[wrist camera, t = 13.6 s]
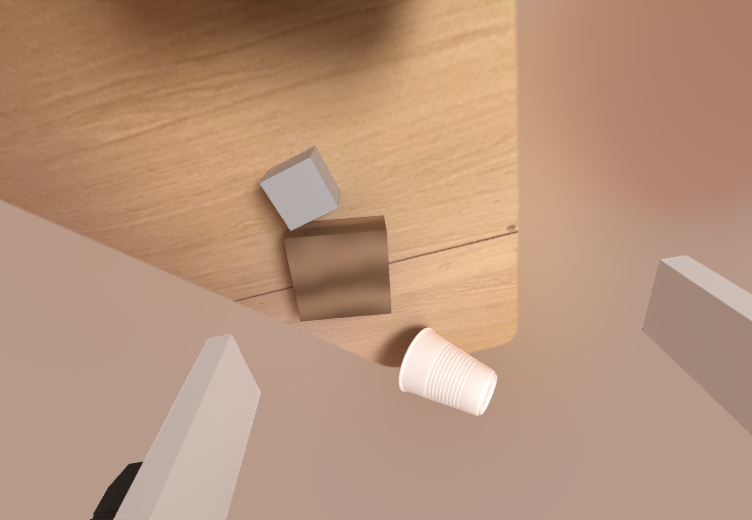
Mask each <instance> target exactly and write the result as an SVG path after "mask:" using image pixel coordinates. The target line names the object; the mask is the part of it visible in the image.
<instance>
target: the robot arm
mask: <svg viewBox="0 0 752 520" xmlns="http://www.w3.org/2000/svg"><path fill="white" fill-rule="evenodd" d="M642 330H643V331H644V332H645V333H646V334H647V335H648V336H649V337H650V338H651V339H652V340H653V341H654V342H655V343H656V344H657V345H658V346H659V347H660V348H661V349H662V350H663V351H665V352H666V353H667V354H668V355H669V356H670V357H671V358H672V359H673V360H674V361H675V362H676V363H677V364H678V365H679V366H680V367H681V368H682V369H683V370H684V371H685V372H686V373H688V374H689V375H690V376H691V377H692V378H693V379H694V380H695V381H696V382H697V383H698V384H699V385H700V386H701V387H702V388H703V389H704V390H705V391H706V392H707V393H708V394H710V395H711V396H712V397H713V398H714V399H715V400H716V401H717V402H718V403H719V404H720V405H721V406H722V407H723V408H724V409H725V410H726V411H727V412H729V414H730V415H732V416H733V417H734V418H735V419H736V420H737V421H738V422H739V423H740V424H741V425H742V426H743V427H744V428H745V429H746V430H747V431H748V432H749V433H750V434H751V435H752V294H750V293H748V292H747V291H745V290H743V289H742V288H740V287H738V286H737V285H735V284H733V283H732V282H730V281H728V280H727V279H725V278H723V277H722V276H720V275H718V274H717V273H715V272H713V271H712V270H710V269H708V268H707V267H705V266H704V265H702V264H700V263H699V262H696V261H695V260H694V259H692V258H690V257H688V256H687V255H685V256H679V257H673V258H667V259H662V260H660V262H659V266H658V269H657V273H656V277H655V282H654V285H653V289H652V293H651V297H650V301H649V305H648V309H647V313H646V316H645V321H644V324H643V328H642ZM260 394H261V392H260V390H259V388H258V386H257V384H256V382H255V380H254V378H253V376H252V374H251V372H250V370H249V368H248V366H247V364H246V362H245V360H244V358H243V356H242V354H241V352H240V350H239V348H238V346H237V344H236V342H235V340H234V338H233V336H232V334H227V335H221V336H215V337H210V338H208V339H207V340H206V343H205V344H204V346H203V348H202V350H201V352H200V354H199V356H198V358H197V360H196V362H195V364H194V366H193V368H192V369H191V371H190V373H189V375H188V377H187V379H186V381H185V383H184V385H183V387H182V389H181V390H180V392H179V394H178V396H177V398H176V400H175V402H174V404H173V406H172V408H171V410H170V412H169V414H168V416H167V417H166V419H165V421H164V423H163V425H162V427H161V429H160V431H159V433H158V435H157V437H156V439H155V441H154V442H153V444H152V446H151V448H150V450H149V452H148V454H147V456H146V458H145V460H144V462H138V463H132V464H129V465H128V466H127V467H126V468H125V469H124V470H123V471H122V473H121V474H120V475H119V476H118V477H117V478H116V479H115V480H114V482H113V483H112V484H111V485H110V486H109V487H108V489H107V491H106V492H105V494H104V496H103V498H102V499H101V501H100V503H99V505H98V507H97V508H96V510H95V512H94V513H93V514H94V517H93V519H90V520H226V516H227V513H228V509H229V506H230V502H231V499H232V495H233V492H234V488H235V484H236V481H237V477H238V473H239V470H240V466H241V463H242V459H243V456H244V452H245V448H246V445H247V441H248V438H249V434H250V430H251V427H252V423H253V420H254V416H255V412H256V409H257V405H258V401H259V397H260Z"/></svg>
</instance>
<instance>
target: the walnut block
mask: <svg viewBox="0 0 752 520" xmlns="http://www.w3.org/2000/svg"><path fill="white" fill-rule="evenodd" d="M283 240H284V245H285V250H286V254H287V259H288V264H289V269H290V273H291V278H292V283H293V288H294V292H295V297H296V302H297V306H298V311H299V316H300V321H309V320H321V319H332V318H343V317H355V316H366V315H377V314H389V313H391V298H390V281H389V264H388V247H387V230H386V225H385V220H384V215H383V216H371V217H359V218H347V219H335V220H323V221H311V222H308V223H306V224H304V225H302V226H300V227H298V228H295V229H293V230H291V231H290V229H289V228H287V231H286V233H285V236H284V238H283Z"/></svg>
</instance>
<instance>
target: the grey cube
mask: <svg viewBox="0 0 752 520" xmlns="http://www.w3.org/2000/svg"><path fill="white" fill-rule="evenodd" d="M260 185H261V187H262V188H263V190H264V191H265V193H266V194H267V196H268V197H269V199H270V200H271V202H272V203H273V205H274V206H275V208H276V209H277V211H278V212H279V214H280V215H281V217H282V219H283V220H284V222H285V223H286V225H287V226H288V228H289V229H290V231H291V230H293V229H295V228H298V227H300V226H302V225H304V224H306V223H308V222H310V221H312V220H314V219H316V218H318V217H320V216H323V215H325V214H327V213H329V212H331V211H333V210H335V209H337V208H339V198H340V189H339V188H338V186H337V184H336V182H335V180H334V178H333V177H332V175H331V173H330V171H329V169H328V167H327V166H326V164H325V162H324V160H323V158H322V157H321V155H320V153H319V151H318V149H317V147H316V146H314V147H312V148H310V149H308V150H306V151H304V152H302V153H300V154H298V155H296V156H295V157H293V158H291V159H289V160H287V161H285V162H283V163H281V164H279V165H277V166H275V167H273V168H271V169H270V171H269V172H268V173H267V174H266V176H265V177H264V178H263V179H262V181H261V182H260Z"/></svg>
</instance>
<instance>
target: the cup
mask: <svg viewBox="0 0 752 520" xmlns="http://www.w3.org/2000/svg"><path fill="white" fill-rule="evenodd" d="M496 381H497V375H496V374H495V371H493V370H492V369H490V368H489V367H487V366H486V365H484V364H483V363H481V362H479V361H478V360H476V359H475V358H473V357H472V356H470V355H469V354H467V353H466V352H464V351H463V350H461V349H460V348H458V347H456V346H455V345H453V344H452V343H450V342H449V341H447V340H446V339H444V338H443V337H441V336H440V335H438V334H437V333H435V332H433V330H432V329H431V328H428V327H427V328H424V329H423V330H421V331H420V332H419V333H418V334H417V335H416V337H415V338H414V339H413V341H412V342H411V344H410V346H409V347H408V349H407V351H406V353H405V356H404V358H403V361H402V364H401V367H400V371H399V378H398V382H399V388H400V389H401V391H403V392H406V391H408V392H411V393H413V394H416V395H419V396H422V397H425V398H428V399H431V400H433V401H437V402H440V403H443V404H445V405H448V406H451V407H454V408H457V409H460V410H462V411H464V412H467V413H470V414H473V415H476V416H478V415H479V414H480V415H482V414H483V413H484V411H485V410H486V408H487V406H488V404H489V402H490V400H491V397H492V394H493V392H494V389H495V385H496Z"/></svg>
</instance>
